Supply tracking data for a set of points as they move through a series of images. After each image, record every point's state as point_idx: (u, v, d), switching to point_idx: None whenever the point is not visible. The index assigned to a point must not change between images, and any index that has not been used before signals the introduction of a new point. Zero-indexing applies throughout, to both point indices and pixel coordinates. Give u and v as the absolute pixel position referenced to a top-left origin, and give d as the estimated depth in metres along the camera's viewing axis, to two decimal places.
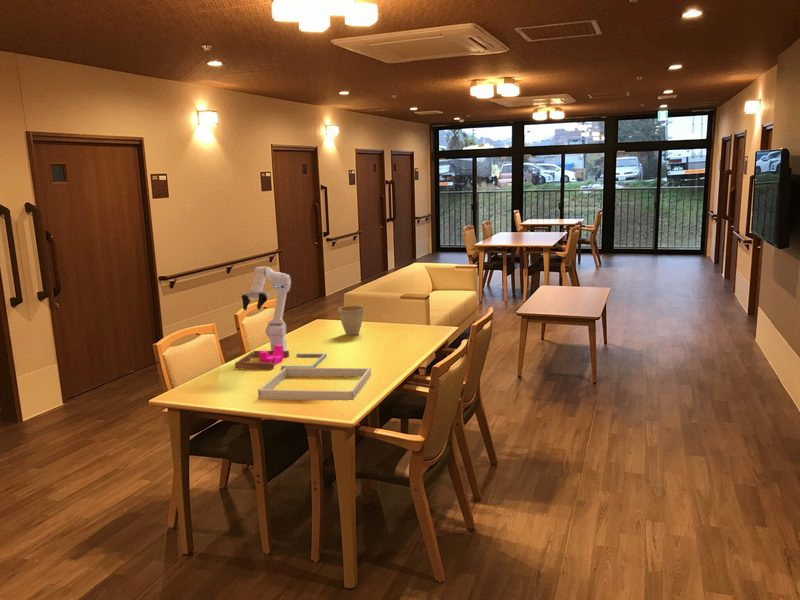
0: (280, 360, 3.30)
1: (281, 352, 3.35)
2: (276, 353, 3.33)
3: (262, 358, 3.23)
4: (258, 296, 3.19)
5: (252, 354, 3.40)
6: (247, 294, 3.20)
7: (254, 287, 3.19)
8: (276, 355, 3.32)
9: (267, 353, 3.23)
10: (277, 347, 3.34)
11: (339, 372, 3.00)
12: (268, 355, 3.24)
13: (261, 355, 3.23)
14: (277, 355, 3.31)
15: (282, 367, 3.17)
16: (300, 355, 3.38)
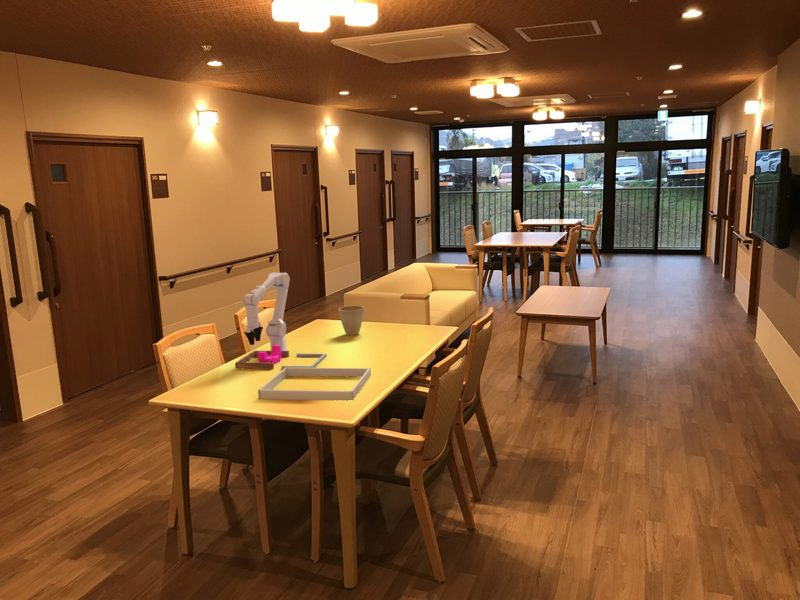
0: (278, 360, 3.30)
1: (279, 352, 3.35)
2: (275, 353, 3.33)
3: (261, 358, 3.23)
4: (252, 329, 3.27)
5: (252, 354, 3.40)
6: None
7: None
8: (274, 355, 3.32)
9: (265, 353, 3.24)
10: (275, 347, 3.34)
11: (339, 372, 3.00)
12: (266, 355, 3.24)
13: (259, 355, 3.23)
14: (275, 355, 3.32)
15: (282, 367, 3.17)
16: (300, 355, 3.38)
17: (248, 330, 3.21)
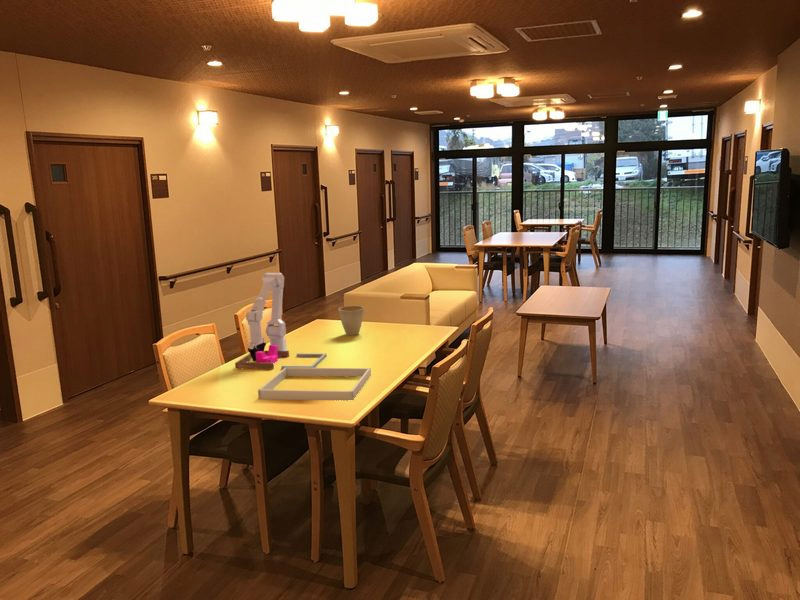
0: (276, 360, 3.30)
1: (276, 352, 3.35)
2: (271, 353, 3.33)
3: (259, 358, 3.23)
4: (255, 346, 3.28)
5: None
6: None
7: None
8: (271, 355, 3.32)
9: (263, 353, 3.23)
10: (272, 347, 3.34)
11: (339, 372, 3.00)
12: (264, 355, 3.24)
13: (257, 355, 3.23)
14: (272, 355, 3.32)
15: (282, 367, 3.17)
16: (300, 355, 3.38)
17: (251, 347, 3.23)
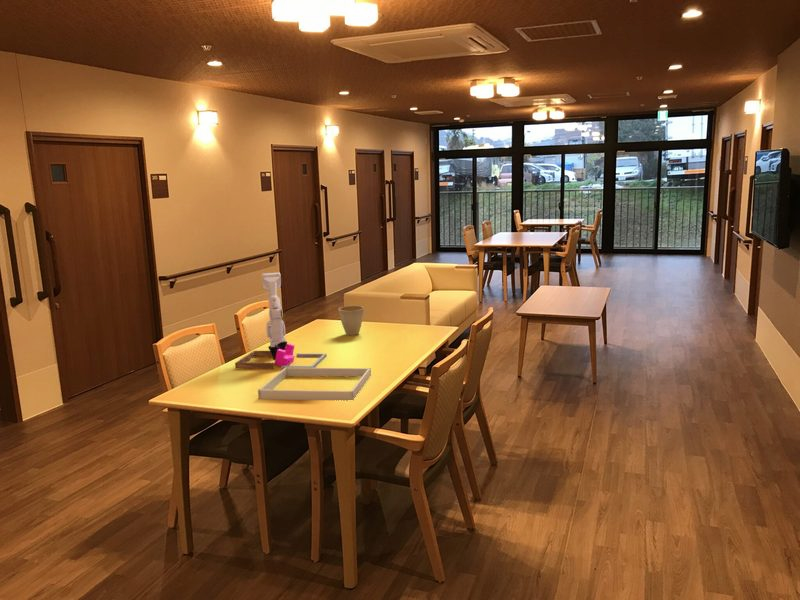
0: (292, 360, 3.28)
1: (292, 352, 3.33)
2: (288, 352, 3.30)
3: (279, 356, 3.20)
4: (276, 344, 3.25)
5: (252, 354, 3.40)
6: None
7: None
8: (288, 354, 3.29)
9: (285, 352, 3.21)
10: (289, 346, 3.32)
11: (339, 372, 3.00)
12: (285, 354, 3.22)
13: (278, 353, 3.20)
14: (289, 354, 3.29)
15: (282, 367, 3.17)
16: (300, 355, 3.38)
17: (272, 345, 3.20)
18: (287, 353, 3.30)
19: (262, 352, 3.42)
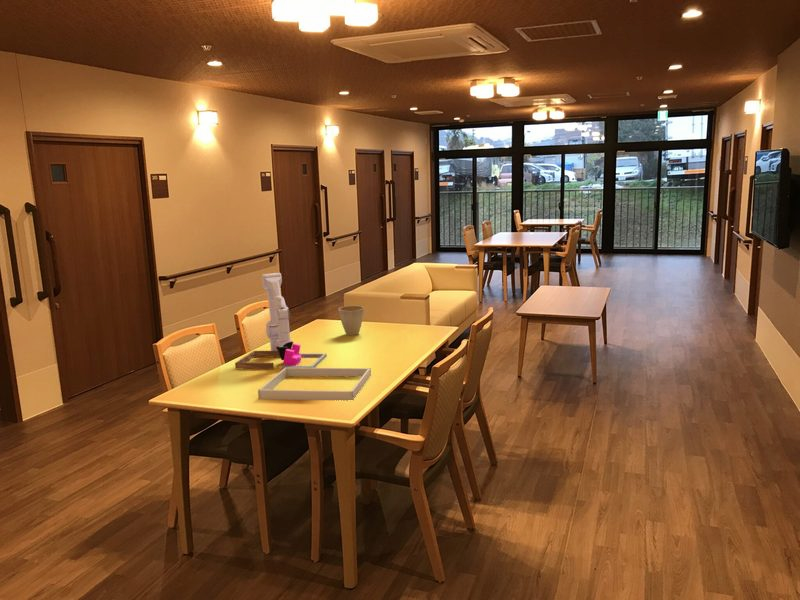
0: (299, 360, 3.28)
1: (298, 352, 3.32)
2: (295, 352, 3.30)
3: (288, 356, 3.19)
4: (283, 344, 3.24)
5: (252, 354, 3.40)
6: None
7: None
8: (295, 354, 3.29)
9: (293, 352, 3.20)
10: (296, 346, 3.31)
11: (339, 372, 3.00)
12: (293, 354, 3.21)
13: (287, 353, 3.19)
14: (296, 354, 3.29)
15: (282, 367, 3.17)
16: None
17: (281, 345, 3.19)
18: (294, 353, 3.30)
19: (262, 352, 3.42)
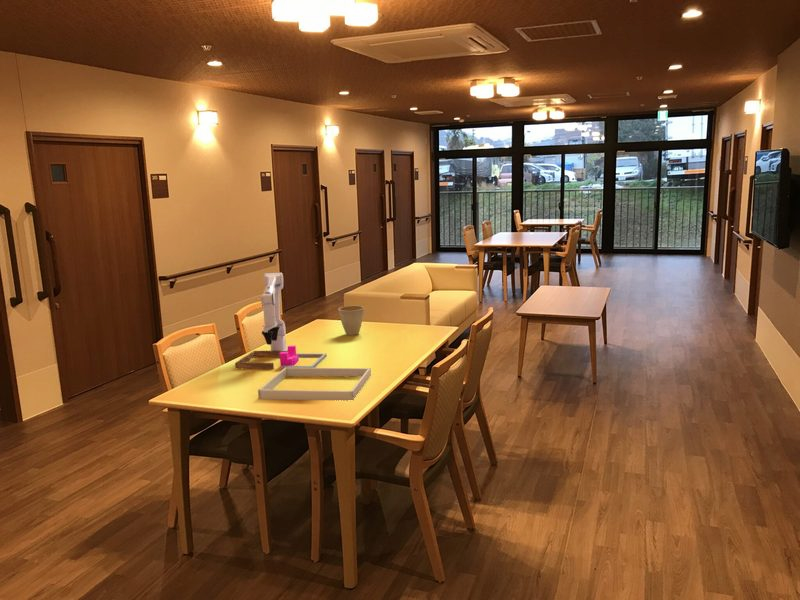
0: (297, 360, 3.28)
1: (295, 352, 3.32)
2: (291, 354, 3.30)
3: (283, 359, 3.20)
4: (269, 329, 3.26)
5: (252, 354, 3.40)
6: None
7: None
8: (292, 356, 3.29)
9: (287, 354, 3.21)
10: (291, 348, 3.32)
11: (339, 372, 3.00)
12: (288, 356, 3.21)
13: (281, 356, 3.19)
14: (293, 355, 3.29)
15: (282, 367, 3.17)
16: (300, 355, 3.38)
17: (266, 330, 3.21)
18: (290, 355, 3.30)
19: (262, 352, 3.42)
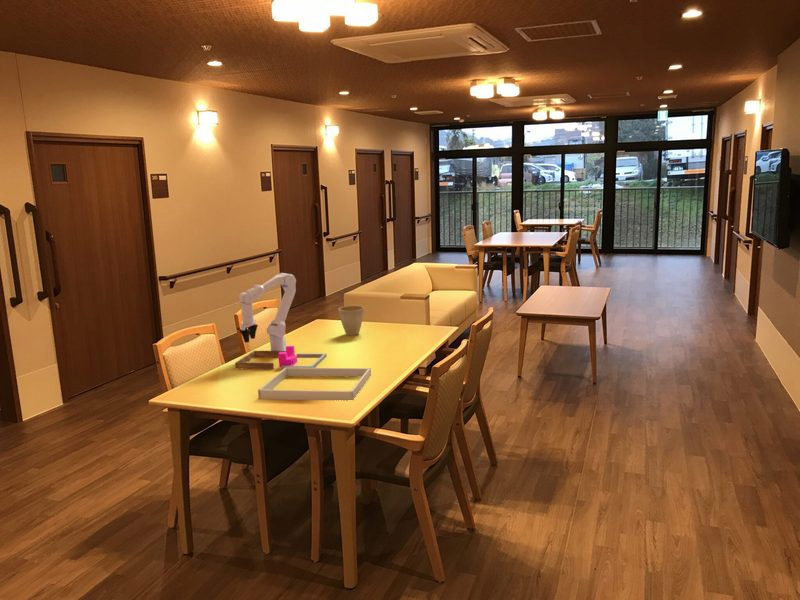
0: (296, 360, 3.28)
1: (293, 353, 3.32)
2: (290, 354, 3.30)
3: (282, 359, 3.19)
4: (247, 327, 3.33)
5: (252, 354, 3.40)
6: None
7: None
8: (290, 356, 3.29)
9: (286, 354, 3.20)
10: (289, 348, 3.31)
11: (339, 372, 3.00)
12: (287, 356, 3.21)
13: (280, 356, 3.19)
14: (291, 356, 3.29)
15: (282, 367, 3.17)
16: (300, 355, 3.38)
17: (243, 328, 3.27)
18: (289, 355, 3.30)
19: (262, 352, 3.42)
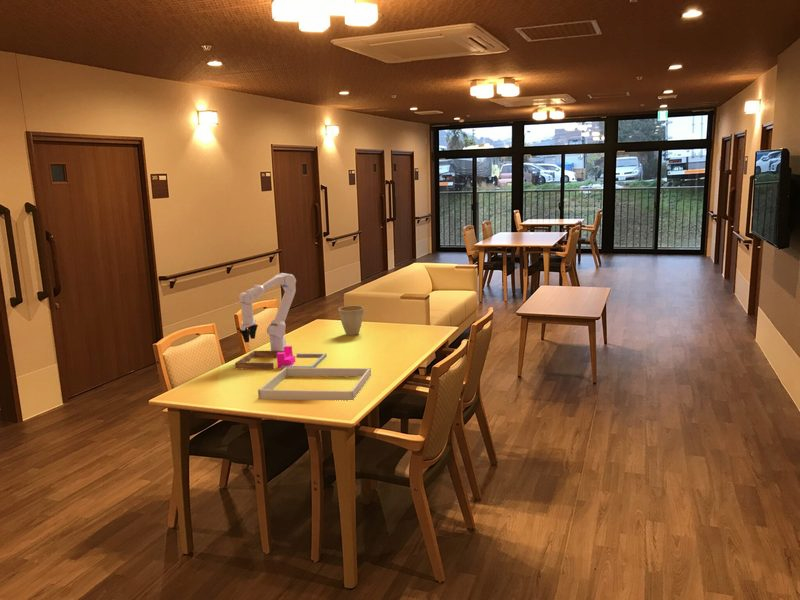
0: (294, 360, 3.28)
1: (291, 353, 3.32)
2: (288, 354, 3.30)
3: (280, 359, 3.19)
4: (247, 327, 3.33)
5: (252, 354, 3.40)
6: None
7: None
8: (288, 356, 3.29)
9: (284, 354, 3.20)
10: (287, 348, 3.31)
11: (339, 372, 3.00)
12: (285, 356, 3.21)
13: (279, 356, 3.19)
14: (289, 356, 3.29)
15: (282, 367, 3.17)
16: (300, 355, 3.38)
17: (243, 328, 3.27)
18: (287, 355, 3.29)
19: (262, 352, 3.42)
